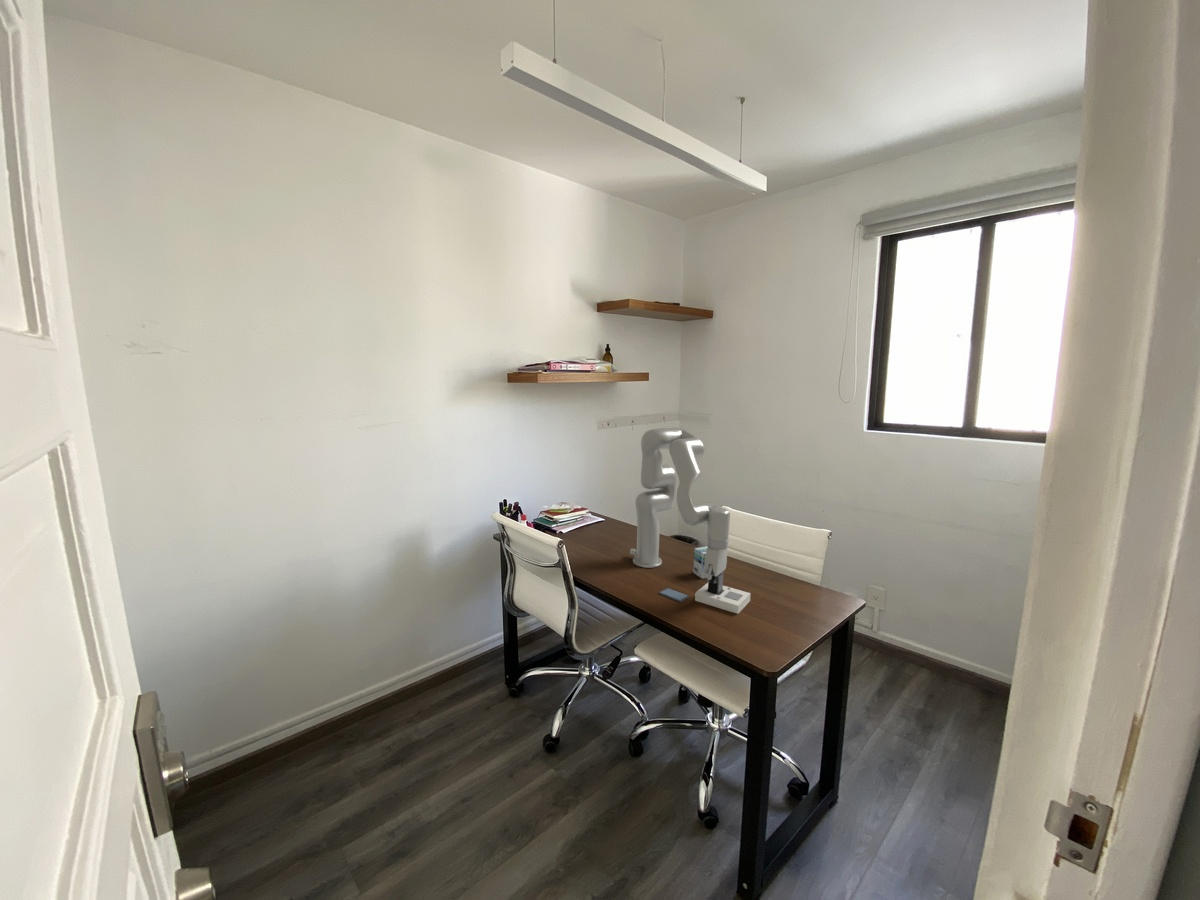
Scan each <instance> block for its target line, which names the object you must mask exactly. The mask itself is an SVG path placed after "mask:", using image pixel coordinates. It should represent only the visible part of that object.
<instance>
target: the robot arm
mask: <svg viewBox="0 0 1200 900" xmlns="http://www.w3.org/2000/svg"><path fill="white" fill-rule="evenodd" d="M640 441H641V442H640V445H641V447H640V448H641V454H642V455H641V456H642V458H641V470H640V484H641V486H642V488H644V489H647V490H646V491H642V492H640V493H639V494H637V496H636V497H635V509H636V516H637V518H636V519H637V520H636V523H637V525H636V527H637V528H636V529H637V530H636V548H632V547H631V548H630V550H629V555H631V556H634V557H633V558H632V563H633V564H634V565H635V566H637V567H641V568H648V569H650V568H651V569H652V568H657V567H660V566H661V565H662V564H663V560H662V558H661V557H659V555H660V551H659V550H660V521H659V518H658V516H657V515H656V514H657V513H660V512H661V513H662V512H666V511H667V512H668V511H670V510H672V509H673V508H674V505H675V501H676V505H677V508H678V511H679V513H680V516H681V519H682V520H683V522H684V523H685V525H687V526H690V527H695V526H696V527H697V526H700V525H707V533H706V547H707V551H706V557H705V566H704V573H705V574H707V573H708V574H707V578H706V579H707V583H708V592H710V593H713V594H717V583H716V582H717V576H718V575H719V574H720V573H723V574H724V571H725V570H726V568H727V563H728V548H729V540H730V523H731V522H730V521H731V513H730V511H729V510H728V509H727V508H724V507H720V506H718V505H716V504H715V503H712V502H703V503H696V504H693V502H692V498H691V488H692V485H693V484H694V483H696V482H697V481H698V480H699V479H700V478H701V477H702V472H701V469H700V467H699V464H698V462H697V459H701V458H702V457H703V456H704V454H705V447H704V446H705V445H704V443H703V442H702V441H701V439H699V438H698V437H697V436H695V435H694V434H692V433H690V432H688V431H687V430H685V429H683V428H681V427H668V428H667V427H663V428H653V429H650V430H647V431H645V432H644V433H643V435H642V437H641V440H640ZM661 450H669V454H670V457H671V460H672V462H673V463H672V464H673V466H674V467H672V465H669V464H663V459H664V458H663V455H662V452H661ZM674 468H675V469H674ZM677 477H678V480H679V484H678V487H677ZM676 488H677V489H676ZM712 573H714V574H712ZM712 576H714V578H712Z"/></svg>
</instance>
